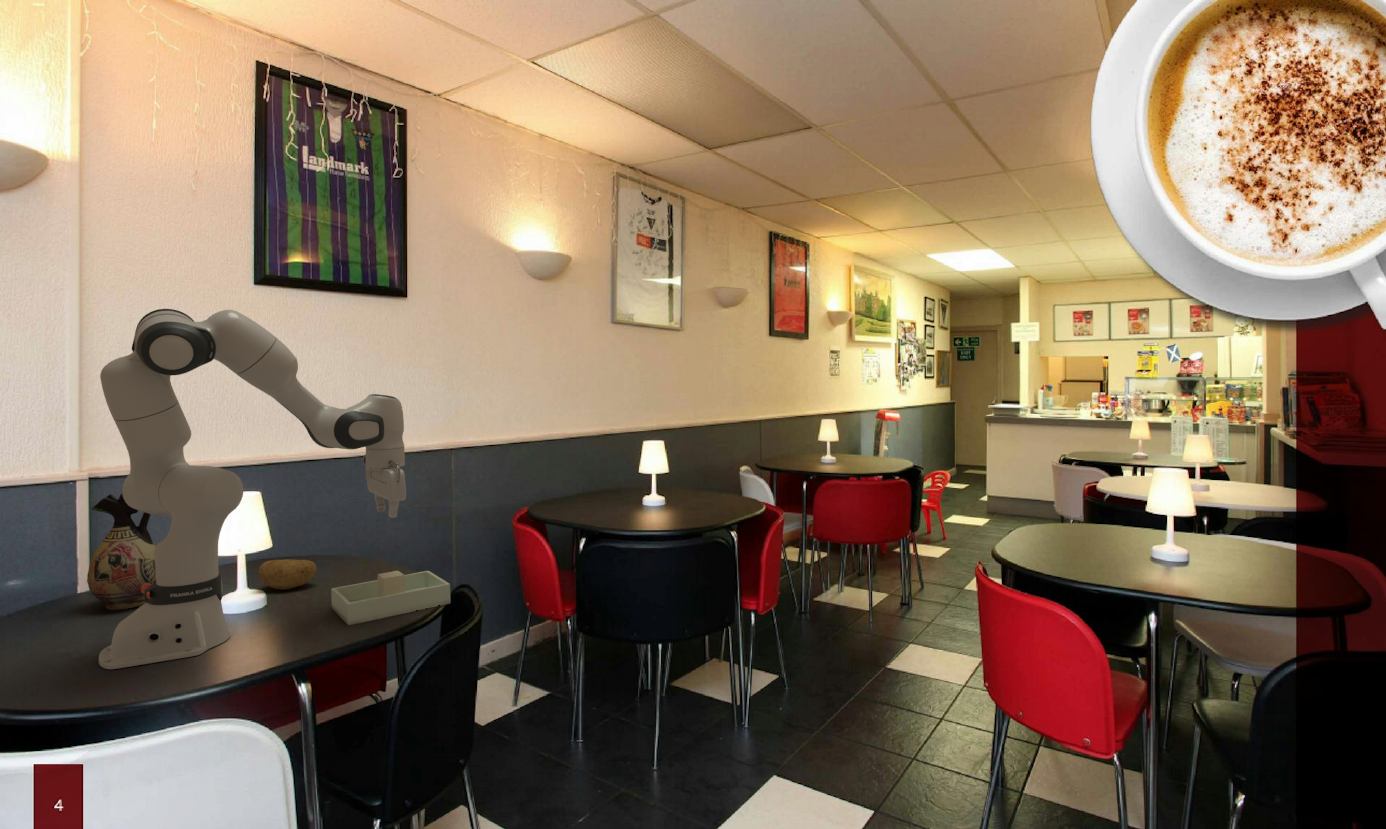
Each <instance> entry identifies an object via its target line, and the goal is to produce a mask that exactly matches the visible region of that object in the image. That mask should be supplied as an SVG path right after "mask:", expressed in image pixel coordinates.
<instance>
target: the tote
mask: <svg viewBox="0 0 1386 829" xmlns="http://www.w3.org/2000/svg"><path fill="white" fill-rule="evenodd" d="M404 576H405V592H403V593H398V594H393V595H388V596H383V597H378V579H375V580H369V581H365V582H360V583H355V584H348V585H343V586H337V587H332V588H331V591H330V594H331V595H330V596H331V609H332V610H333V611H334V612H335V613H336V614H337V615H338V616H339V618H341V619H342V621H344V623H345V624H346V625H347V626H349V627H350V626H354V625H358V624H362V623H368V622H371V621H377V620H382V619H385V618H389V617H393V616H395V617H396V616H399V615H402V614H408V613H412V612H416V610H418V611H422V610H425V609H426V608H427V609H430V608H435V607H439V606H438V605H440V606H444V605H450V604H451V601H452V600H451V584H450V583H449V582H447V581H446V580H445V579H443V578H441V577H439V576H438V575H436V574H435V573H433V572H431V571H429V570H424V571H419V572H418V571H417V572H415V573H413V572H412V573H409V574H404Z"/></svg>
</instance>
